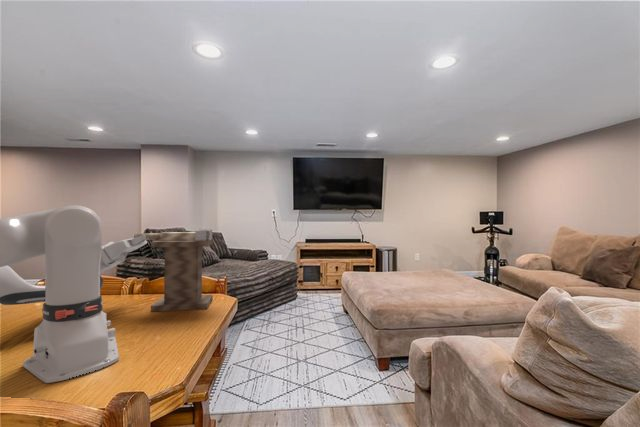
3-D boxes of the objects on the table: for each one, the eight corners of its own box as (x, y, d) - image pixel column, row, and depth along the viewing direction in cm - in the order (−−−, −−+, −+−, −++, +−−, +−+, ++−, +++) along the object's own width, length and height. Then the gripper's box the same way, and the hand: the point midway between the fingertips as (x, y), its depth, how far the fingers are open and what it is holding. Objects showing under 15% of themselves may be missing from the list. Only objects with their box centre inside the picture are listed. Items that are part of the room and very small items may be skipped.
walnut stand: (150, 311, 109) (151, 241, 109) (161, 301, 121) (162, 238, 121) (207, 308, 113) (207, 241, 113) (212, 299, 125) (213, 238, 125)
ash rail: (133, 240, 112) (133, 233, 112) (137, 240, 116) (137, 232, 116) (203, 240, 117) (203, 232, 117) (205, 239, 121) (205, 232, 121)
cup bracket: (195, 240, 114) (195, 230, 114) (199, 239, 122) (199, 229, 122) (208, 240, 115) (208, 230, 115) (212, 239, 123) (212, 229, 123)
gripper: (129, 256, 123) (161, 239, 125) (103, 265, 103) (141, 245, 105) (121, 243, 122) (153, 227, 124) (93, 249, 102) (132, 230, 104)
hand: (147, 235), depth 115 cm, fingers closed on ash rail, 2 cm apart
